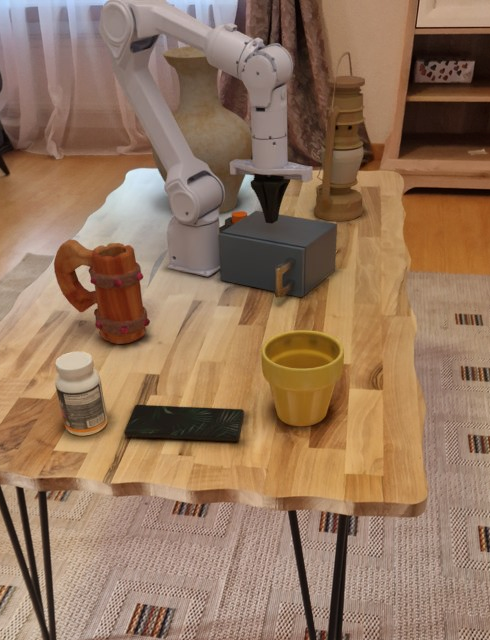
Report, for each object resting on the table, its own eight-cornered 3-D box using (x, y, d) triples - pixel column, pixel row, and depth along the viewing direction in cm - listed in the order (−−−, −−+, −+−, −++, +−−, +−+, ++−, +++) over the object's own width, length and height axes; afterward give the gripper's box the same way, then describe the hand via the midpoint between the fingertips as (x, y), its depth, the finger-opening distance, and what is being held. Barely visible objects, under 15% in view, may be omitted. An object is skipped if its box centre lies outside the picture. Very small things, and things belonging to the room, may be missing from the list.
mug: (161, 328, 119) (150, 236, 109) (140, 352, 113) (127, 257, 103) (82, 319, 123) (64, 229, 113) (58, 341, 117) (37, 249, 107)
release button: (228, 223, 147) (228, 215, 146) (237, 218, 149) (236, 210, 148) (242, 226, 146) (242, 217, 145) (250, 221, 148) (250, 212, 147)
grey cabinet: (304, 296, 126) (305, 246, 120) (223, 278, 133) (221, 231, 127) (335, 270, 133) (337, 223, 128) (257, 255, 141) (256, 210, 135)
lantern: (318, 200, 164) (323, 45, 144) (365, 201, 162) (376, 44, 142) (309, 224, 152) (313, 58, 133) (359, 225, 150) (371, 58, 131)
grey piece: (287, 309, 122) (287, 260, 116) (205, 290, 129) (201, 244, 124) (303, 295, 125) (304, 248, 120) (223, 278, 133) (220, 232, 127)
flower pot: (287, 444, 92) (288, 377, 86) (248, 406, 99) (246, 342, 93) (355, 421, 96) (360, 354, 89) (313, 386, 103) (315, 322, 97)
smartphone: (238, 437, 92) (123, 432, 94) (238, 444, 93) (124, 438, 95) (244, 408, 97) (135, 403, 99) (244, 414, 98) (135, 409, 100)
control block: (212, 237, 149) (211, 222, 147) (230, 226, 154) (230, 212, 152) (250, 244, 145) (249, 229, 143) (267, 233, 150) (267, 218, 148)
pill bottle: (67, 415, 100) (52, 350, 93) (109, 412, 100) (97, 347, 94) (63, 439, 95) (48, 373, 89) (107, 435, 96) (94, 369, 89)
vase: (254, 219, 156) (251, 58, 137) (153, 223, 157) (135, 63, 138) (253, 187, 173) (250, 39, 154) (162, 191, 174) (147, 45, 154)
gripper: (321, 132, 116) (320, 218, 124) (243, 126, 122) (247, 209, 131) (301, 143, 111) (301, 232, 120) (221, 136, 117) (226, 221, 126)
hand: (271, 221), depth 125 cm, fingers closed
